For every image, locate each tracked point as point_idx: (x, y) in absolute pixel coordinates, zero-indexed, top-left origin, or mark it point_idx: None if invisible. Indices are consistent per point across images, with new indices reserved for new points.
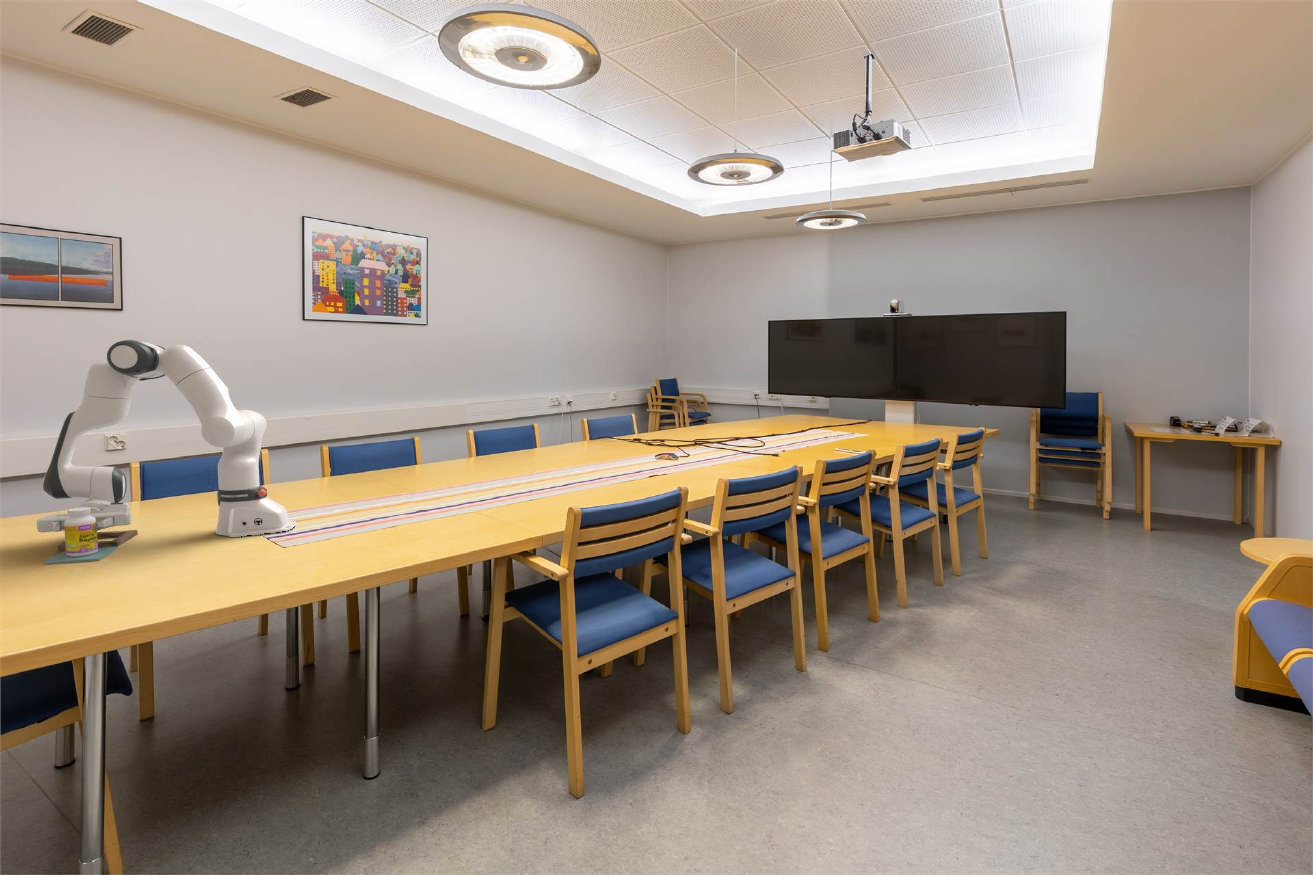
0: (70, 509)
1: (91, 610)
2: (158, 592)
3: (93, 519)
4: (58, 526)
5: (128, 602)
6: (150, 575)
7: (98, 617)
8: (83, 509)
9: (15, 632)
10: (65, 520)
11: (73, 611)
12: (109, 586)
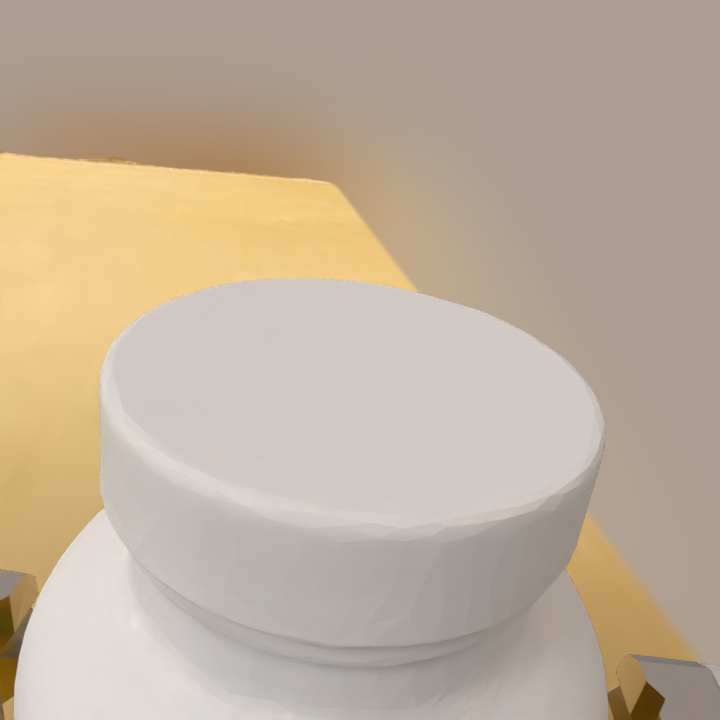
0: (556, 397)
1: (227, 218)
2: (65, 221)
3: (94, 517)
4: (644, 661)
5: (148, 214)
6: (9, 304)
7: (216, 199)
8: (260, 305)
9: (351, 212)
10: (565, 572)
11: (263, 226)
12: (168, 288)
